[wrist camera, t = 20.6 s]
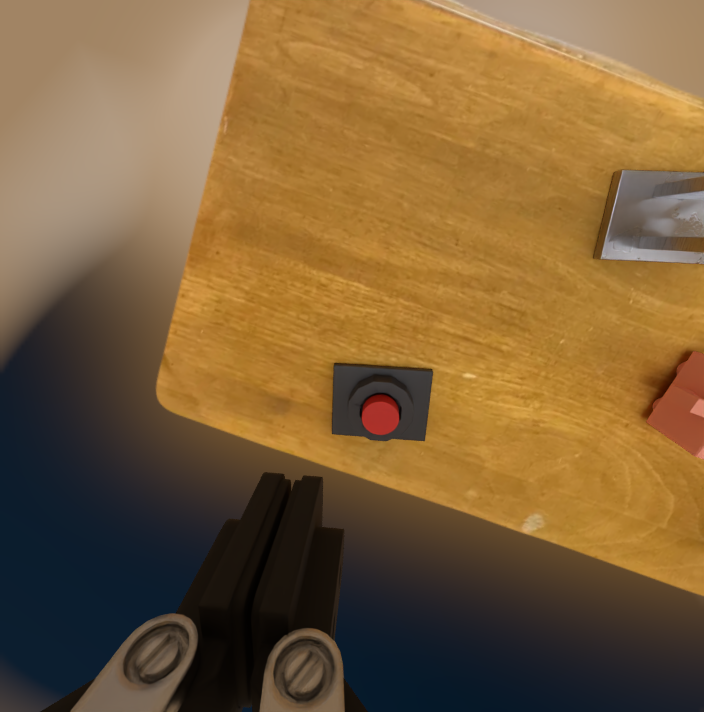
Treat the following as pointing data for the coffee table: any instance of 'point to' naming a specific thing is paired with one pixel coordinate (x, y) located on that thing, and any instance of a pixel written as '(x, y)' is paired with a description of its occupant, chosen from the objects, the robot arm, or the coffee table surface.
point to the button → (380, 414)
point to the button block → (395, 382)
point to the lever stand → (653, 217)
